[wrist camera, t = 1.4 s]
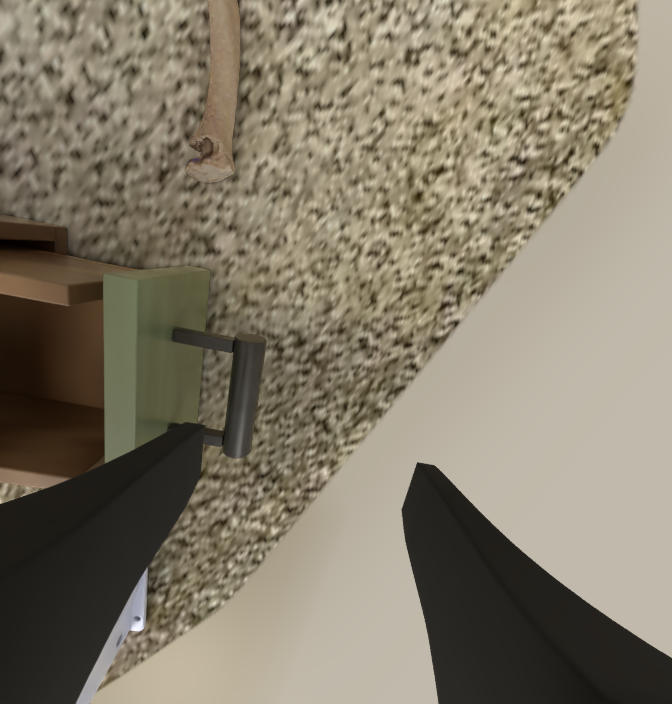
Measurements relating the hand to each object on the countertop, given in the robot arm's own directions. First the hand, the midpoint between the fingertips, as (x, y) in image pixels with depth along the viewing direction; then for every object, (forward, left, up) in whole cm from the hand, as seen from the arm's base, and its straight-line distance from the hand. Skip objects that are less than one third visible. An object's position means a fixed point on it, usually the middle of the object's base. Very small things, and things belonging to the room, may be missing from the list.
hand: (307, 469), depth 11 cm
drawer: (0, +11, -9) cm, 14 cm away
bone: (+15, +8, -10) cm, 19 cm away
